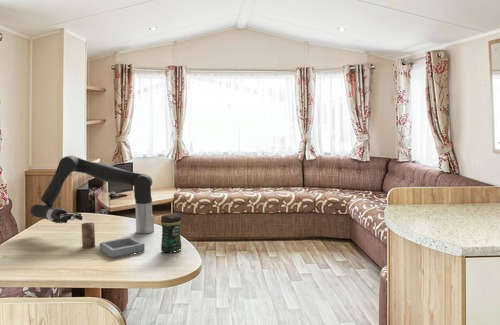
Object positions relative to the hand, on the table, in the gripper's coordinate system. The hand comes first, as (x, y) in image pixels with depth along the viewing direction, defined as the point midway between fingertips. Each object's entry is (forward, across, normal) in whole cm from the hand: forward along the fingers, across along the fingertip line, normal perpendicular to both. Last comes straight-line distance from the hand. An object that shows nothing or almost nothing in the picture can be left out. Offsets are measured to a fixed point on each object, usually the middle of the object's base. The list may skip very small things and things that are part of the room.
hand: (74, 219), depth 219 cm
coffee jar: (+51, +20, +12) cm, 56 cm away
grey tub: (+32, +5, +12) cm, 34 cm away
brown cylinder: (+12, 0, +13) cm, 17 cm away
